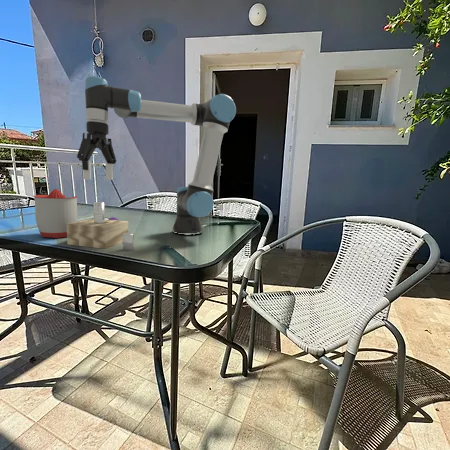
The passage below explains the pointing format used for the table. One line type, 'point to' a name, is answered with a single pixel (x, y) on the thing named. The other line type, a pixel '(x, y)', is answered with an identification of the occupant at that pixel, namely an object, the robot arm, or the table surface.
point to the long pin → (99, 212)
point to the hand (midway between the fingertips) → (99, 179)
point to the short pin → (128, 241)
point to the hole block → (96, 233)
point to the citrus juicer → (54, 213)
